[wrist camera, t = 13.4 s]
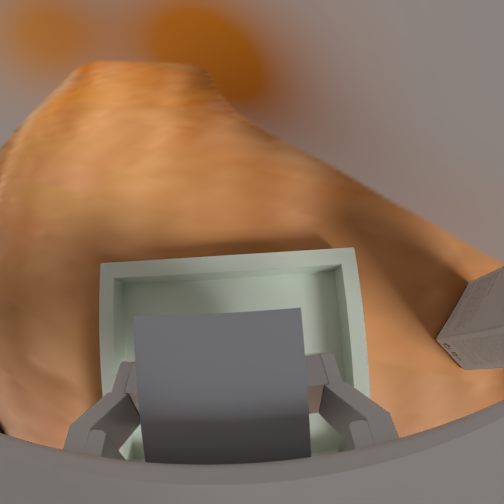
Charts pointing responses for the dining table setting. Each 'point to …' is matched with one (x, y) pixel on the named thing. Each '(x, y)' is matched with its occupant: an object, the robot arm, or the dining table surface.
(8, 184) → the dining table surface
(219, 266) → the tray
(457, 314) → the skincare box
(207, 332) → the matte grey square block
